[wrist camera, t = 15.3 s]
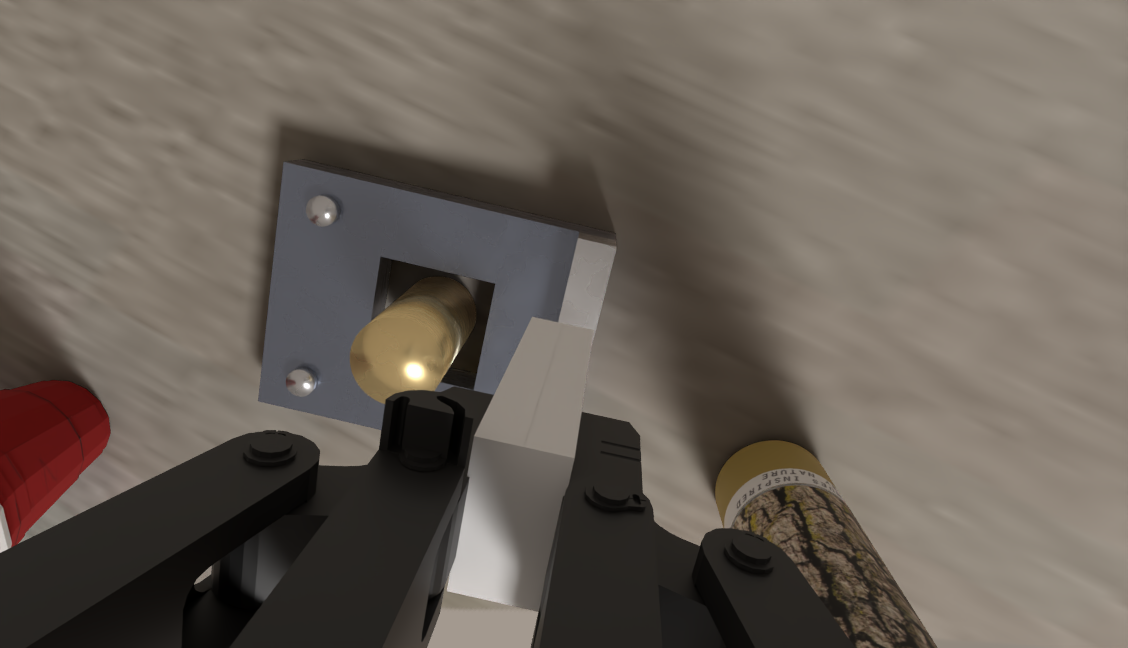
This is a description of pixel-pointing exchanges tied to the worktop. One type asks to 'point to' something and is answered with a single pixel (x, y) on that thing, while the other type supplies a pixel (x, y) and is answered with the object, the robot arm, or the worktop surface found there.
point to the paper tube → (818, 540)
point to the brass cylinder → (413, 339)
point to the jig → (417, 236)
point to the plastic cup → (44, 449)
